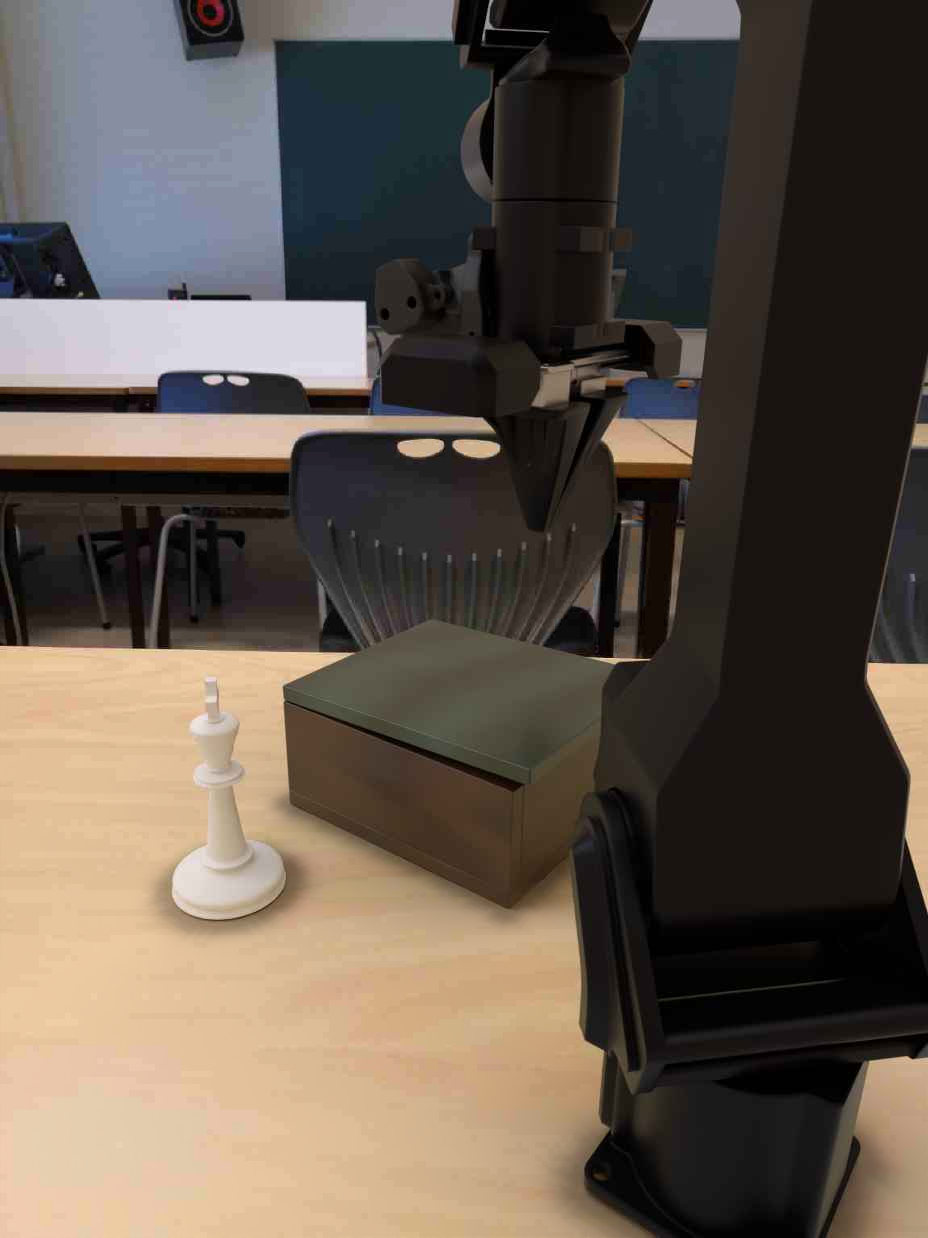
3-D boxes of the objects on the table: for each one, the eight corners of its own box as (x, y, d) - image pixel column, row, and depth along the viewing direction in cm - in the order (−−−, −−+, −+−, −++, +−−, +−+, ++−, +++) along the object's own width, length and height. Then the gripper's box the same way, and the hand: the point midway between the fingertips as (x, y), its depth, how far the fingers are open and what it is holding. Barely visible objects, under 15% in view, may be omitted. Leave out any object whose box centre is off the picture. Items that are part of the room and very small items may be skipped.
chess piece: (167, 927, 39) (139, 711, 35) (177, 857, 43) (153, 659, 40) (287, 913, 40) (272, 701, 36) (285, 846, 44) (272, 652, 41)
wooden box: (634, 795, 49) (643, 695, 47) (508, 909, 40) (513, 792, 38) (431, 721, 56) (431, 631, 54) (289, 803, 48) (282, 701, 46)
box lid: (658, 689, 46) (659, 674, 46) (530, 787, 37) (530, 769, 37) (431, 631, 54) (431, 618, 54) (282, 700, 46) (281, 685, 45)
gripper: (520, 211, 54) (510, 475, 60) (281, 196, 40) (300, 542, 46) (700, 210, 48) (670, 504, 54) (492, 192, 34) (483, 591, 40)
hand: (538, 530), depth 49 cm, fingers closed
